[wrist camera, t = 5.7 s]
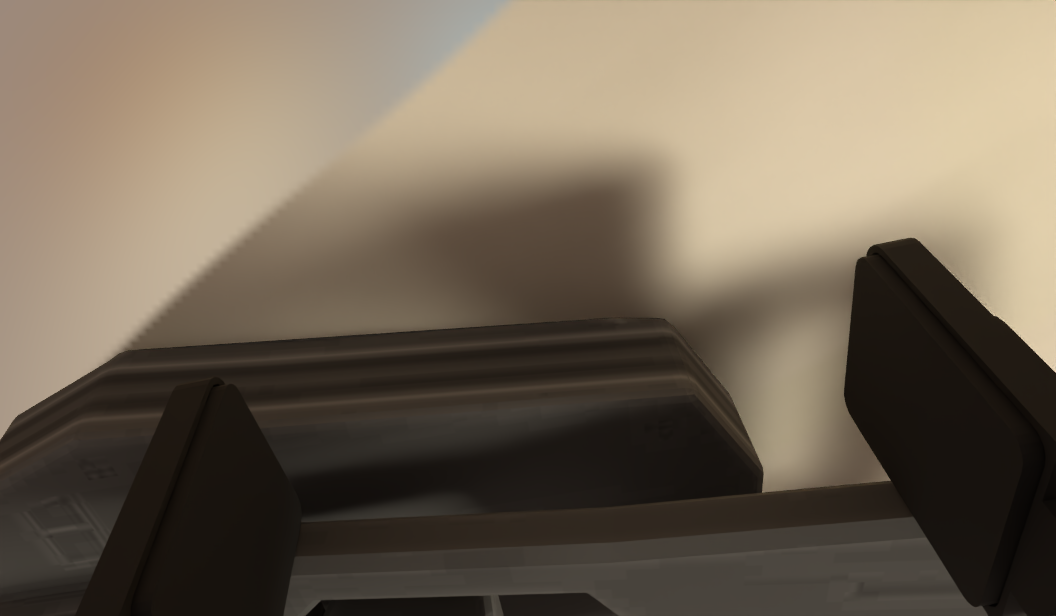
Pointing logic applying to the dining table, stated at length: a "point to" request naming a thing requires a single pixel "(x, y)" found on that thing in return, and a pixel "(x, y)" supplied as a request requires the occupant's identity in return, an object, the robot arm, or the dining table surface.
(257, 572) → the robot arm
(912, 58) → the dining table surface
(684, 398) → the zipper pull
